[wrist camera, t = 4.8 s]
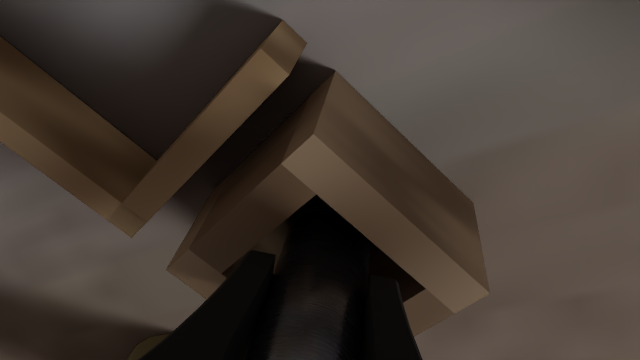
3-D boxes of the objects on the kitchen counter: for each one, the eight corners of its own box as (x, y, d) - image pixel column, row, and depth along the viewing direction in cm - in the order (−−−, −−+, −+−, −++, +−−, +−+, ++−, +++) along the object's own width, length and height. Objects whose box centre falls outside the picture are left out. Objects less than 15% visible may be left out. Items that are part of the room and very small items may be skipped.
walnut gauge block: (473, 203, 16) (490, 293, 13) (340, 293, 19) (325, 386, 16) (335, 71, 15) (313, 133, 11) (213, 190, 17) (165, 269, 14)
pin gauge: (387, 225, 15) (369, 536, 8) (346, 280, 16) (301, 589, 9) (310, 187, 14) (223, 474, 7) (276, 246, 16) (173, 538, 9)
